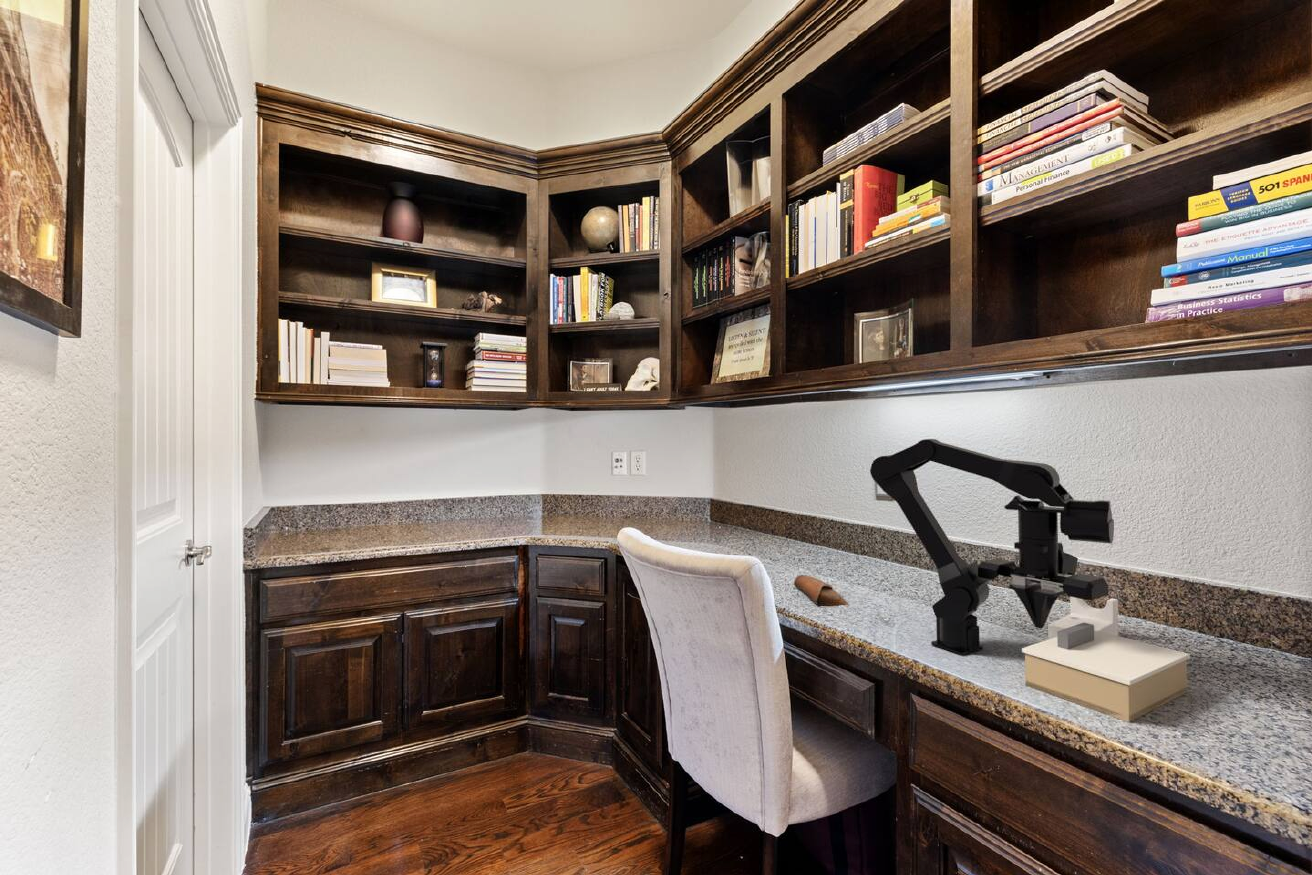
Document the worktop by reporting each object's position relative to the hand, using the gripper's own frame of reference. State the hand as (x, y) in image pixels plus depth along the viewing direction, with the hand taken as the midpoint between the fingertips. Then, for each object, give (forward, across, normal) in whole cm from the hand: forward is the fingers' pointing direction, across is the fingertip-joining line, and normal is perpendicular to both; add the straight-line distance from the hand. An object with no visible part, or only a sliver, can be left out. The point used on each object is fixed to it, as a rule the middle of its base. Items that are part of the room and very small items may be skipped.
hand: (1039, 627), depth 103 cm
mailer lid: (+1, -10, +1) cm, 10 cm away
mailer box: (+7, -10, +1) cm, 12 cm away
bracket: (+7, +3, -20) cm, 21 cm away
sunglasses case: (+7, +52, 0) cm, 52 cm away
